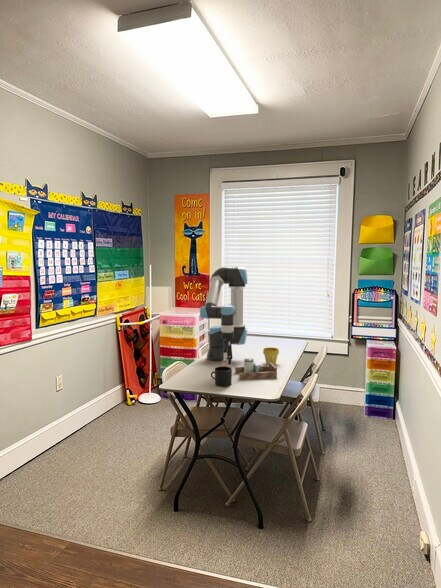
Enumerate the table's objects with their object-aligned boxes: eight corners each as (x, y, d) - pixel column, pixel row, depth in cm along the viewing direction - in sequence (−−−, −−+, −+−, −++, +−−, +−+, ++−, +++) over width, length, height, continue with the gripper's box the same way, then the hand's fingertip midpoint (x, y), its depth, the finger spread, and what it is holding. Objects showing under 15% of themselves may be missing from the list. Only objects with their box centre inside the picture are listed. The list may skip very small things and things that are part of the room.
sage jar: (245, 377, 242) (245, 361, 241) (243, 374, 248) (243, 358, 247) (254, 376, 243) (254, 360, 242) (252, 373, 249) (252, 358, 248)
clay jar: (232, 377, 241) (232, 361, 240) (222, 378, 240) (222, 361, 239) (231, 374, 247) (231, 359, 246) (221, 375, 246) (221, 359, 245)
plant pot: (266, 365, 268) (266, 351, 267) (260, 361, 278) (261, 347, 277) (281, 364, 270) (281, 350, 270) (274, 360, 280) (275, 346, 279)
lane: (239, 379, 237) (239, 369, 237) (235, 372, 251) (235, 363, 251) (276, 377, 240) (276, 367, 240) (270, 371, 255) (270, 361, 254)
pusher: (256, 377, 240) (256, 365, 240) (252, 372, 251) (252, 361, 251) (262, 377, 241) (262, 365, 240) (257, 371, 252) (257, 360, 251)
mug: (213, 380, 235) (213, 365, 234) (233, 382, 231) (233, 367, 231) (208, 385, 226) (208, 369, 226) (228, 387, 222) (228, 371, 222)
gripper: (237, 335, 229) (237, 372, 232) (230, 327, 254) (230, 360, 256) (224, 336, 228) (224, 372, 231) (218, 327, 253) (218, 360, 255)
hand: (227, 366), depth 244 cm, fingers open, 13 cm apart
